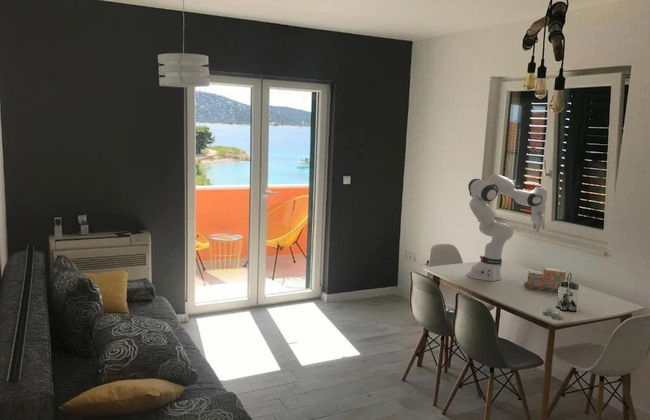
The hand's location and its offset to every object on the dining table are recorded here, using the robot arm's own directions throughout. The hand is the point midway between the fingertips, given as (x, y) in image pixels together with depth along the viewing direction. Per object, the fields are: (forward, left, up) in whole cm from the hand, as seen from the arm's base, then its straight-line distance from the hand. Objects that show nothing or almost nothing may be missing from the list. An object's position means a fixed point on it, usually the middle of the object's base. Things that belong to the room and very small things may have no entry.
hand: (535, 230), depth 372 cm
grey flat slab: (+5, -25, -33) cm, 42 cm away
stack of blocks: (+4, -26, -32) cm, 42 cm away
